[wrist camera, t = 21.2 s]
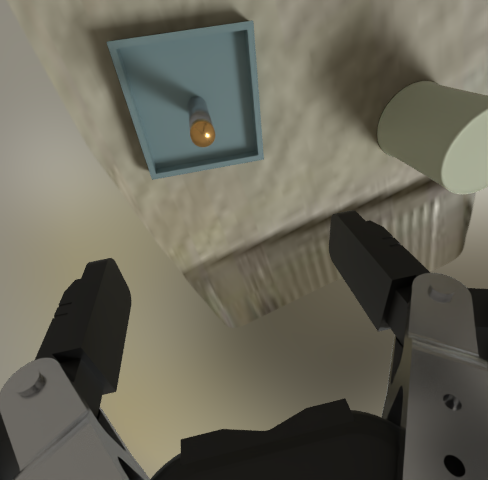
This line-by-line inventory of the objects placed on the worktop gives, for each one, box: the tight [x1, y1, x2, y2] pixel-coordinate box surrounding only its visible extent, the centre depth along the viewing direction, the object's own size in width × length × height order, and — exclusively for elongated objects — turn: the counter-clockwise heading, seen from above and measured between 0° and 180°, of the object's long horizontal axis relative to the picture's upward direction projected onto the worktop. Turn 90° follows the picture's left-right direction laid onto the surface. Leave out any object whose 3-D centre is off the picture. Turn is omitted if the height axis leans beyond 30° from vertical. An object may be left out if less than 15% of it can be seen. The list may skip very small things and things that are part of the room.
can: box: [377, 81, 488, 194], centre depth 32 cm, size 9×9×12 cm
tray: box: [107, 21, 264, 180], centre depth 31 cm, size 13×13×2 cm
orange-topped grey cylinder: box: [188, 96, 215, 147], centre depth 27 cm, size 2×2×10 cm
